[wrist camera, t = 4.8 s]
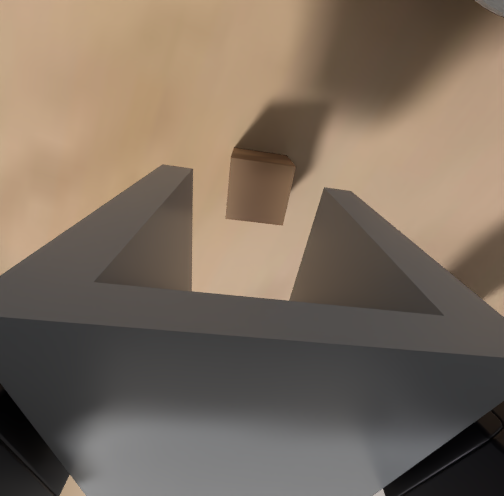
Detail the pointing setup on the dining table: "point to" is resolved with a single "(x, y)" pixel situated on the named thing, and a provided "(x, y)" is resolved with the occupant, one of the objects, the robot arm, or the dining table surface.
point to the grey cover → (242, 355)
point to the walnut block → (259, 186)
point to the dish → (493, 6)
